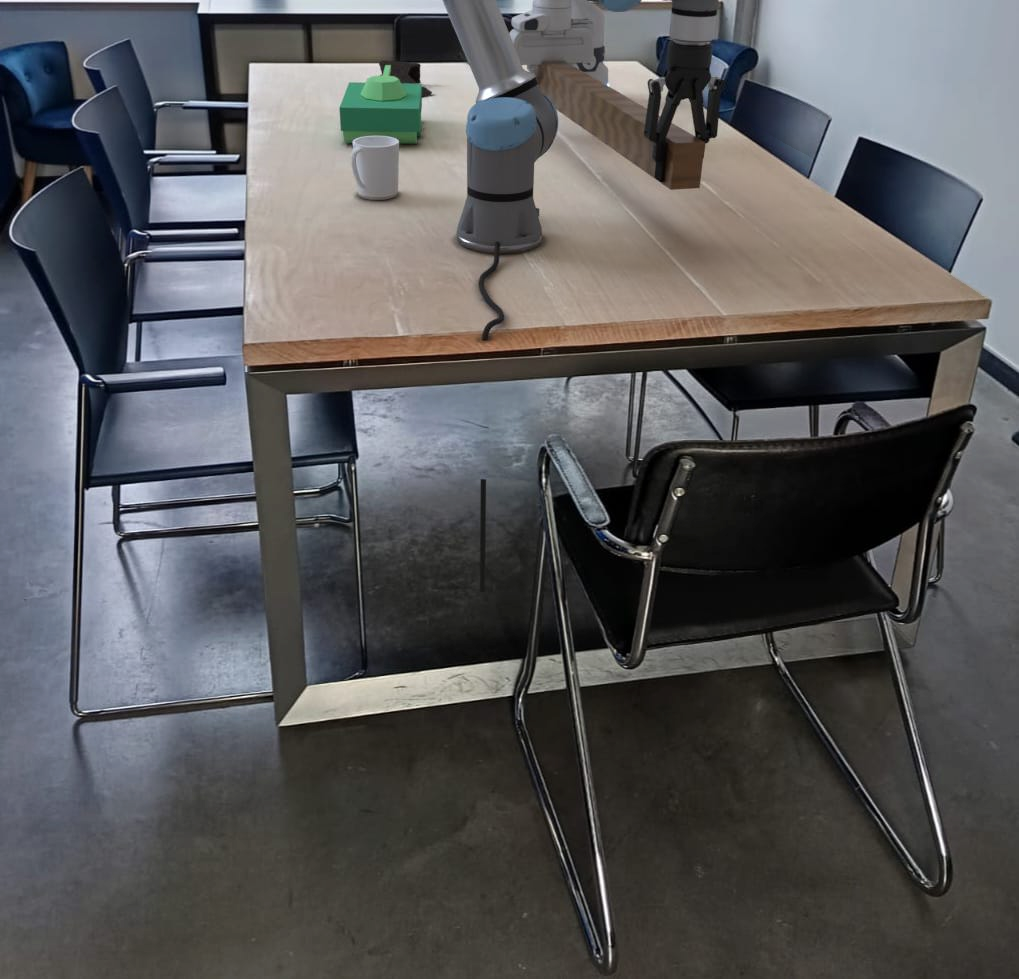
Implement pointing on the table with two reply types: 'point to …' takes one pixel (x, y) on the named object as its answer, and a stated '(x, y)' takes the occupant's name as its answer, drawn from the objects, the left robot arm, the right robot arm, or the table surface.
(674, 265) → the table surface
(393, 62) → the axe head
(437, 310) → the table surface
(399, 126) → the green tank
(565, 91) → the bar
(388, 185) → the mug
